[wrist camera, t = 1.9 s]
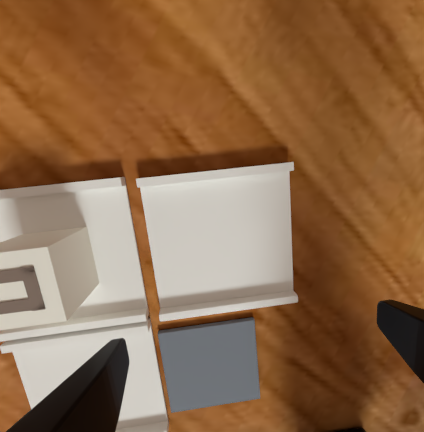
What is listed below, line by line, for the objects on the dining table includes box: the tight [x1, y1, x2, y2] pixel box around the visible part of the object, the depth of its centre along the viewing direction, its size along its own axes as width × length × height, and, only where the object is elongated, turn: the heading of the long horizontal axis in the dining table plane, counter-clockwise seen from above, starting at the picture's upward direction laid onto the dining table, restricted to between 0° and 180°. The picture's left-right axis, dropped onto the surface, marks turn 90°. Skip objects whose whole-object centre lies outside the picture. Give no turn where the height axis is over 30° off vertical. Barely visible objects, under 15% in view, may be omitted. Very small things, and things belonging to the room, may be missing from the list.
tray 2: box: [0, 318, 169, 432], centre depth 19 cm, size 11×11×1 cm
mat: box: [158, 317, 260, 413], centre depth 20 cm, size 8×8×1 cm
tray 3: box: [136, 162, 298, 322], centre depth 17 cm, size 11×11×1 cm
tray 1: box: [0, 177, 149, 342], centre depth 16 cm, size 11×11×1 cm
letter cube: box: [0, 227, 99, 330], centre depth 15 cm, size 4×4×5 cm
